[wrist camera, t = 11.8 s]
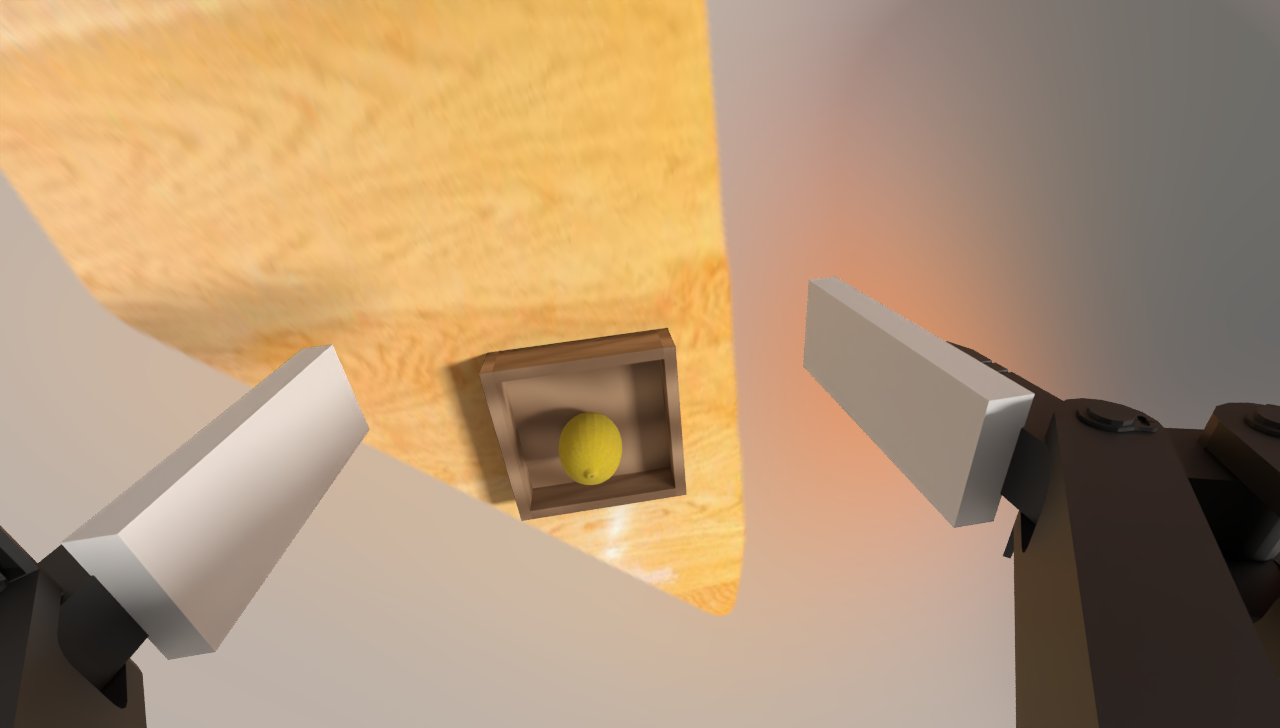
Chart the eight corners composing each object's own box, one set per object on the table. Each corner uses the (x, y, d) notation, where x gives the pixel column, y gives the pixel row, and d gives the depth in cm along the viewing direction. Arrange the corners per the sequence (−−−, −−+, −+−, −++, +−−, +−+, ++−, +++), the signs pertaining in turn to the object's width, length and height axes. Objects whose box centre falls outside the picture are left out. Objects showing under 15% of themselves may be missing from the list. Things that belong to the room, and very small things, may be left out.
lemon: (586, 455, 47) (587, 513, 40) (547, 419, 44) (541, 475, 37) (630, 423, 46) (640, 478, 39) (593, 385, 43) (596, 435, 36)
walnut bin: (487, 352, 42) (478, 374, 38) (667, 328, 42) (675, 346, 39) (525, 492, 49) (521, 520, 45) (678, 468, 50) (686, 494, 46)
